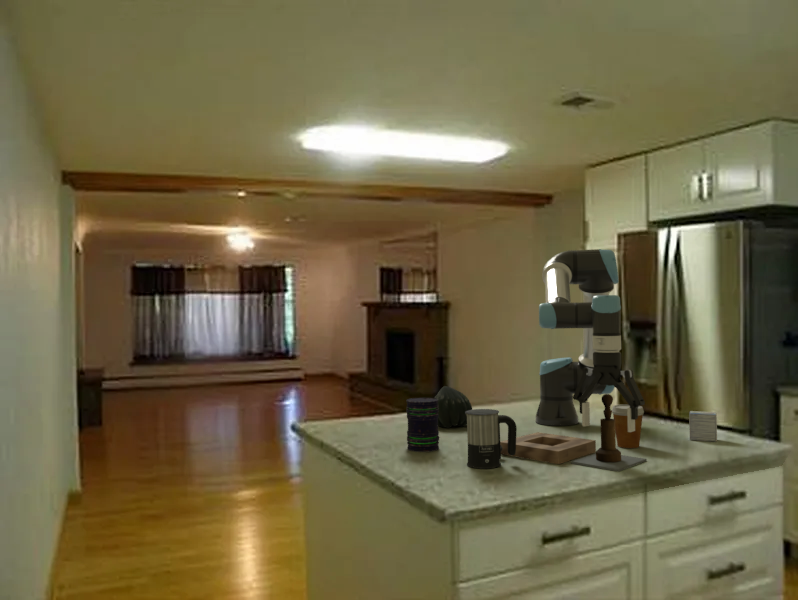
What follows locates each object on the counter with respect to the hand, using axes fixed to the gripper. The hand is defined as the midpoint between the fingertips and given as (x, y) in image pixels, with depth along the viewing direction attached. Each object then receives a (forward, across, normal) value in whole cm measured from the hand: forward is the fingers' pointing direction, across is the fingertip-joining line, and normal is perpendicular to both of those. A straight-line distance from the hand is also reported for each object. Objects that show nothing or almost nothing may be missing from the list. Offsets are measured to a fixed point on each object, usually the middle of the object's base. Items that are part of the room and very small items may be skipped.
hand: (608, 428), depth 194 cm
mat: (+9, 0, 0) cm, 9 cm away
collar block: (+9, -19, -1) cm, 21 cm away
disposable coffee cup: (+9, -6, +23) cm, 26 cm away
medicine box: (+9, +7, +47) cm, 48 cm away
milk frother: (+9, -26, -22) cm, 35 cm away
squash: (+9, -70, +15) cm, 72 cm away
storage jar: (+9, -51, -20) cm, 56 cm away
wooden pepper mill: (+9, 0, 0) cm, 9 cm away
